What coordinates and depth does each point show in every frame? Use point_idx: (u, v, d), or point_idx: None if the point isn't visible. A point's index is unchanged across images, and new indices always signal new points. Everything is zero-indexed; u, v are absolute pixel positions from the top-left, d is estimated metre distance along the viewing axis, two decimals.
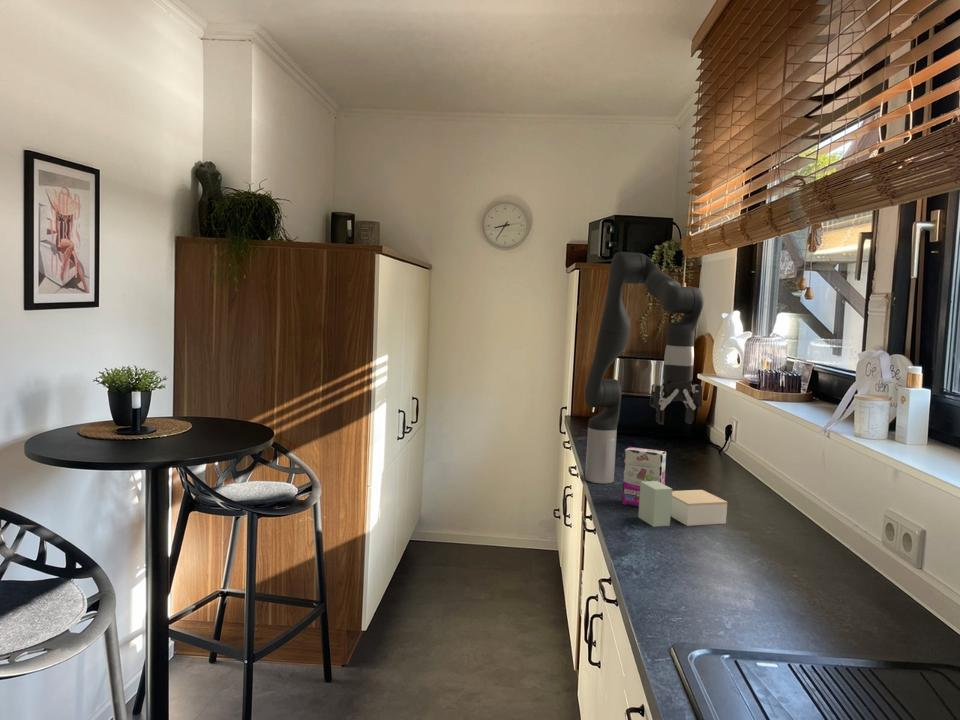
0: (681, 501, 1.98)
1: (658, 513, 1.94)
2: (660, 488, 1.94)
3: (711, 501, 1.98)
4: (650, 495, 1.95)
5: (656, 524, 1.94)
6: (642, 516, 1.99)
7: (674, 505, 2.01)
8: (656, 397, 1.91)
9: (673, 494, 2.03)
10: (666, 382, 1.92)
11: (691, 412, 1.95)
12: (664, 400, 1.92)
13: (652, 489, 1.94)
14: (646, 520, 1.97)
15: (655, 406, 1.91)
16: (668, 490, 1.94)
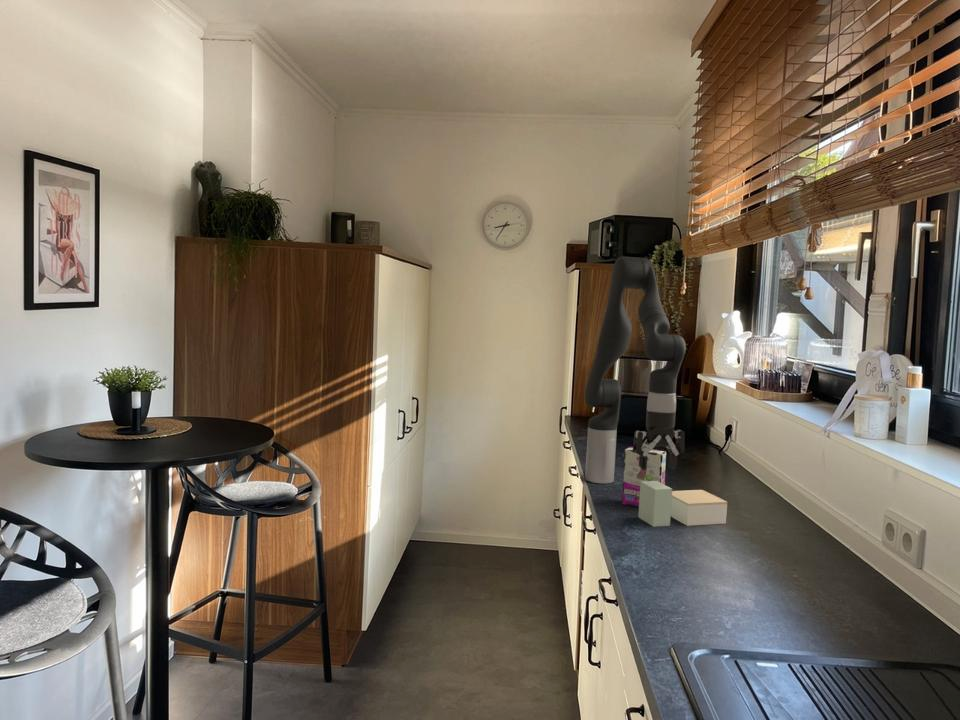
0: (681, 501, 1.98)
1: (658, 513, 1.94)
2: (660, 488, 1.94)
3: (711, 501, 1.98)
4: (650, 495, 1.95)
5: (656, 524, 1.94)
6: (642, 516, 1.99)
7: (674, 505, 2.01)
8: (639, 443, 1.93)
9: (673, 494, 2.03)
10: (649, 428, 1.94)
11: (674, 458, 1.97)
12: (647, 446, 1.94)
13: (652, 489, 1.94)
14: (646, 520, 1.97)
15: (638, 452, 1.93)
16: (668, 490, 1.94)
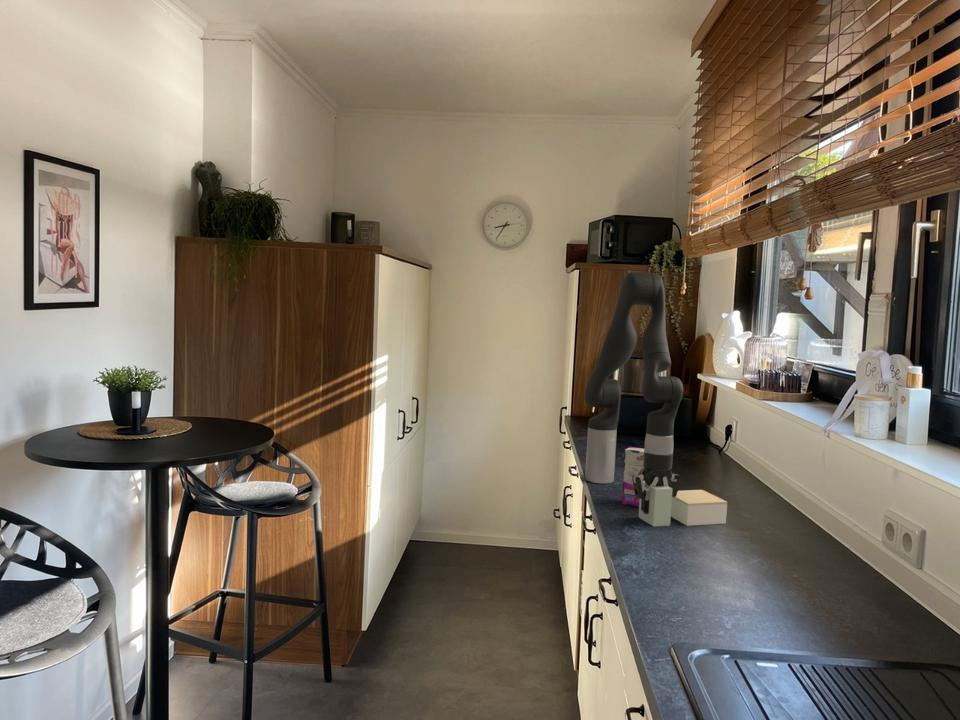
0: (681, 501, 1.98)
1: (658, 512, 1.94)
2: (660, 488, 1.94)
3: (711, 501, 1.98)
4: (650, 495, 1.95)
5: (656, 524, 1.94)
6: (642, 516, 1.99)
7: (674, 505, 2.01)
8: (639, 489, 1.94)
9: None
10: (646, 470, 1.95)
11: None
12: (647, 490, 1.96)
13: (652, 489, 1.94)
14: (646, 520, 1.97)
15: (640, 497, 1.95)
16: (668, 490, 1.94)
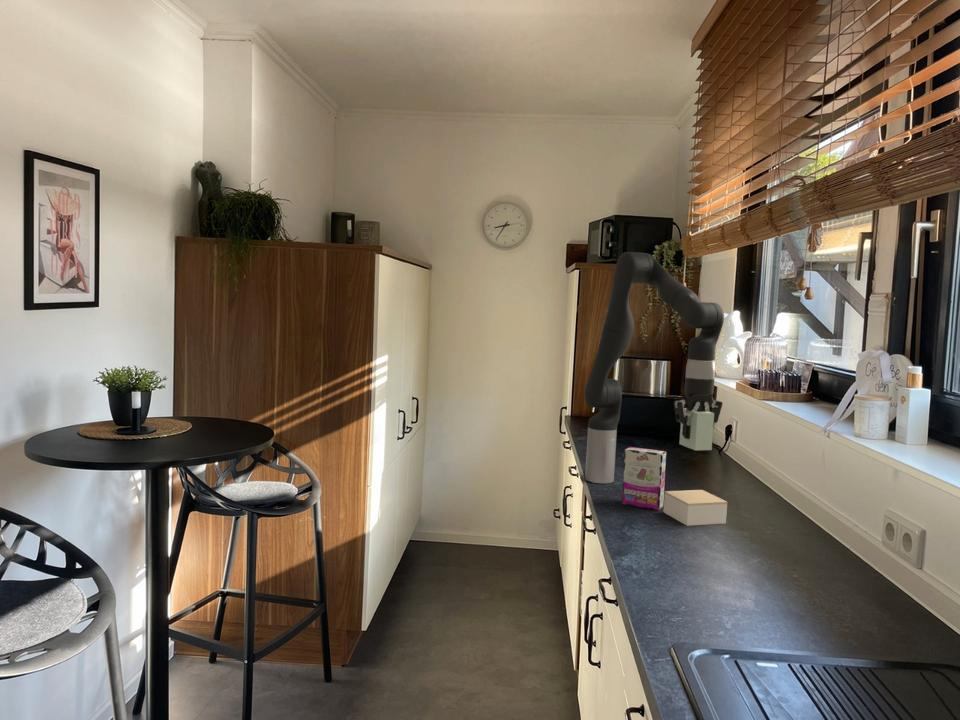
0: (681, 501, 1.98)
1: (700, 437, 1.96)
2: (702, 412, 1.96)
3: (711, 501, 1.98)
4: (692, 420, 1.97)
5: (698, 448, 1.96)
6: (683, 442, 2.01)
7: (674, 505, 2.01)
8: (680, 413, 1.97)
9: (673, 494, 2.03)
10: (688, 395, 1.97)
11: None
12: (688, 415, 1.98)
13: (694, 413, 1.96)
14: (688, 445, 1.99)
15: (682, 421, 1.97)
16: (710, 414, 1.96)
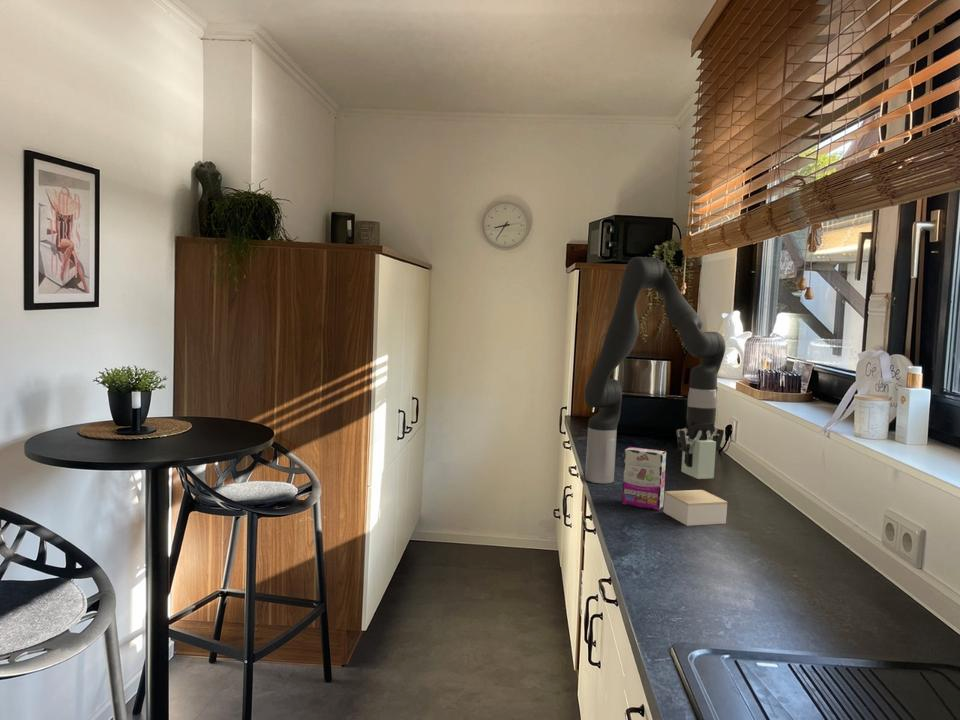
0: (681, 501, 1.98)
1: (702, 465, 1.97)
2: (704, 441, 1.97)
3: (711, 501, 1.98)
4: (694, 448, 1.99)
5: (700, 476, 1.97)
6: (685, 470, 2.03)
7: (674, 505, 2.01)
8: (683, 442, 1.98)
9: (673, 494, 2.03)
10: (690, 424, 1.99)
11: None
12: (690, 443, 1.99)
13: (696, 442, 1.98)
14: (690, 473, 2.00)
15: (684, 450, 1.98)
16: (712, 443, 1.97)
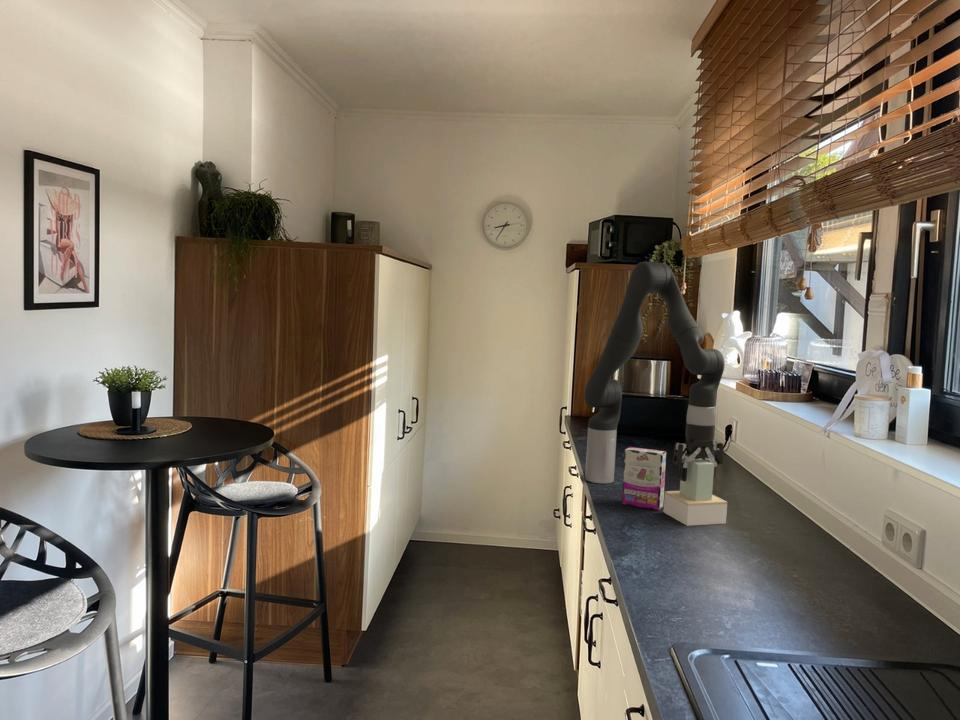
0: (681, 501, 1.98)
1: (700, 487, 1.98)
2: (702, 463, 1.98)
3: (711, 501, 1.98)
4: (692, 471, 1.99)
5: (698, 498, 1.98)
6: (684, 491, 2.03)
7: (674, 505, 2.01)
8: (679, 455, 1.98)
9: (673, 494, 2.03)
10: (689, 441, 1.99)
11: None
12: (687, 458, 1.99)
13: (694, 464, 1.98)
14: (688, 495, 2.01)
15: (678, 464, 1.98)
16: (710, 465, 1.98)
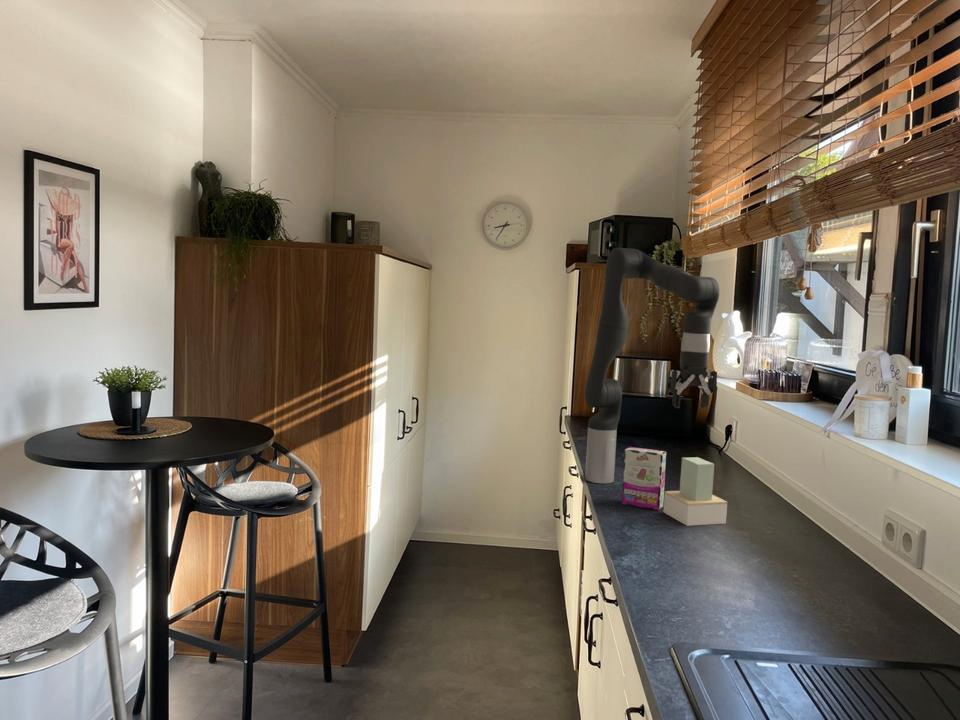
0: (681, 501, 1.98)
1: (700, 487, 1.98)
2: (702, 463, 1.98)
3: (711, 501, 1.98)
4: (692, 471, 1.99)
5: (698, 498, 1.98)
6: (684, 491, 2.03)
7: (674, 505, 2.01)
8: (673, 382, 2.00)
9: (673, 494, 2.03)
10: (683, 368, 2.01)
11: (706, 397, 2.04)
12: (680, 385, 2.01)
13: (694, 464, 1.98)
14: (688, 495, 2.01)
15: (672, 390, 2.00)
16: (710, 465, 1.98)
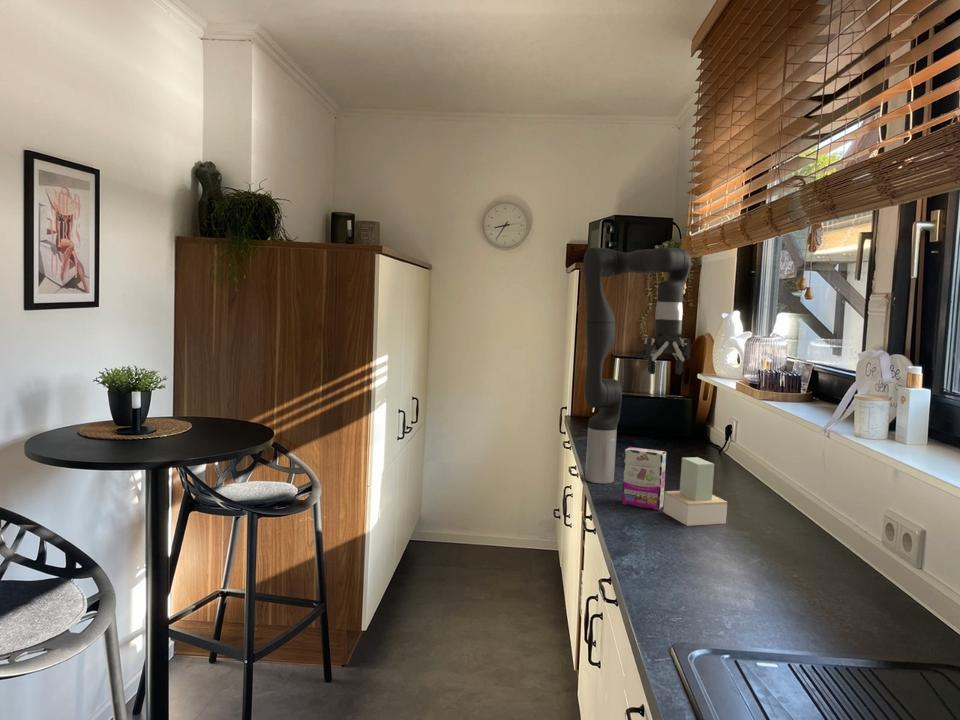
0: (681, 501, 1.98)
1: (700, 487, 1.98)
2: (702, 463, 1.98)
3: (711, 501, 1.98)
4: (692, 471, 1.99)
5: (698, 498, 1.98)
6: (684, 491, 2.03)
7: (674, 505, 2.01)
8: (648, 349, 2.09)
9: (673, 494, 2.03)
10: (657, 335, 2.10)
11: (680, 363, 2.13)
12: (655, 352, 2.10)
13: (694, 464, 1.98)
14: (688, 495, 2.01)
15: (647, 357, 2.09)
16: (710, 465, 1.98)
